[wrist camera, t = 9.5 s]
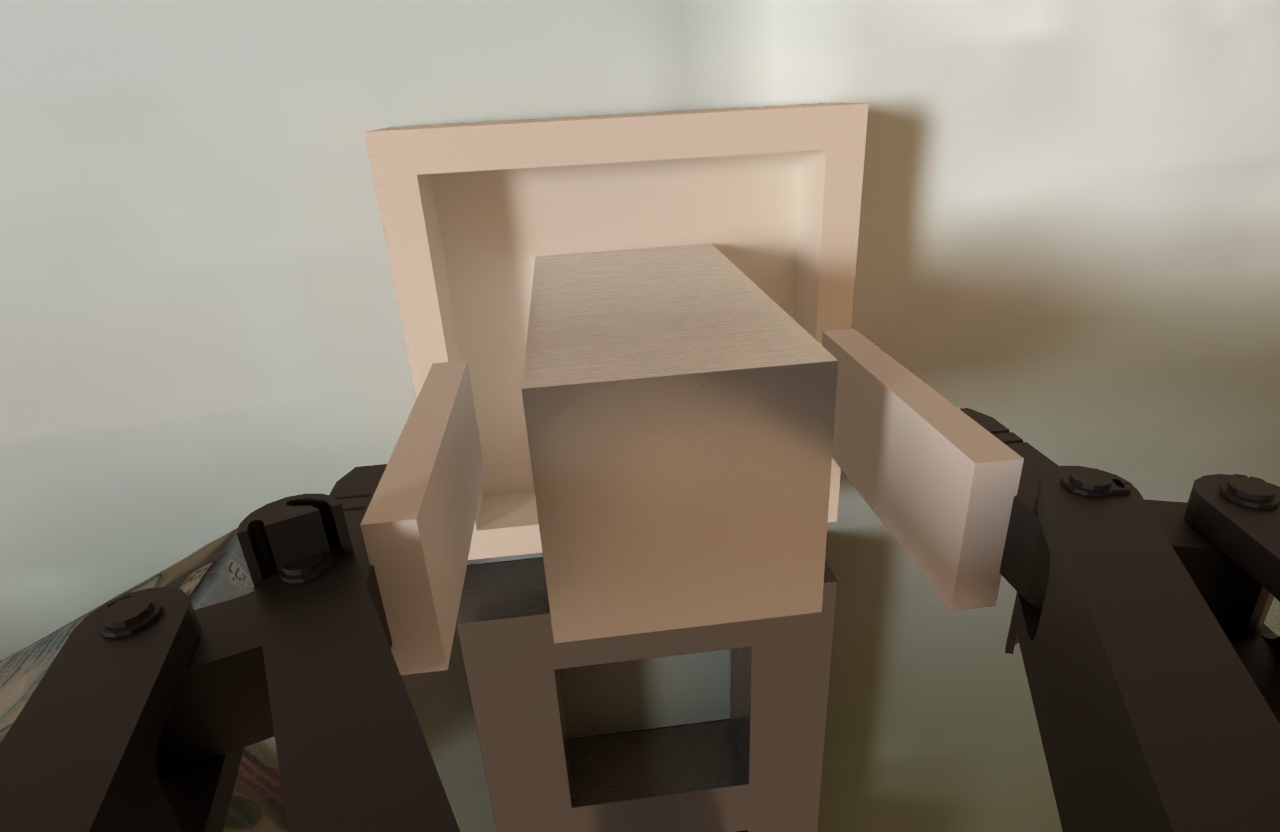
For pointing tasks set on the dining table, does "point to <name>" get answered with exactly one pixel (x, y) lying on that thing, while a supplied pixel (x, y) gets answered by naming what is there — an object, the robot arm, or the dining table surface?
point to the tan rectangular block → (674, 443)
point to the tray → (603, 240)
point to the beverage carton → (206, 580)
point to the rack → (651, 759)
